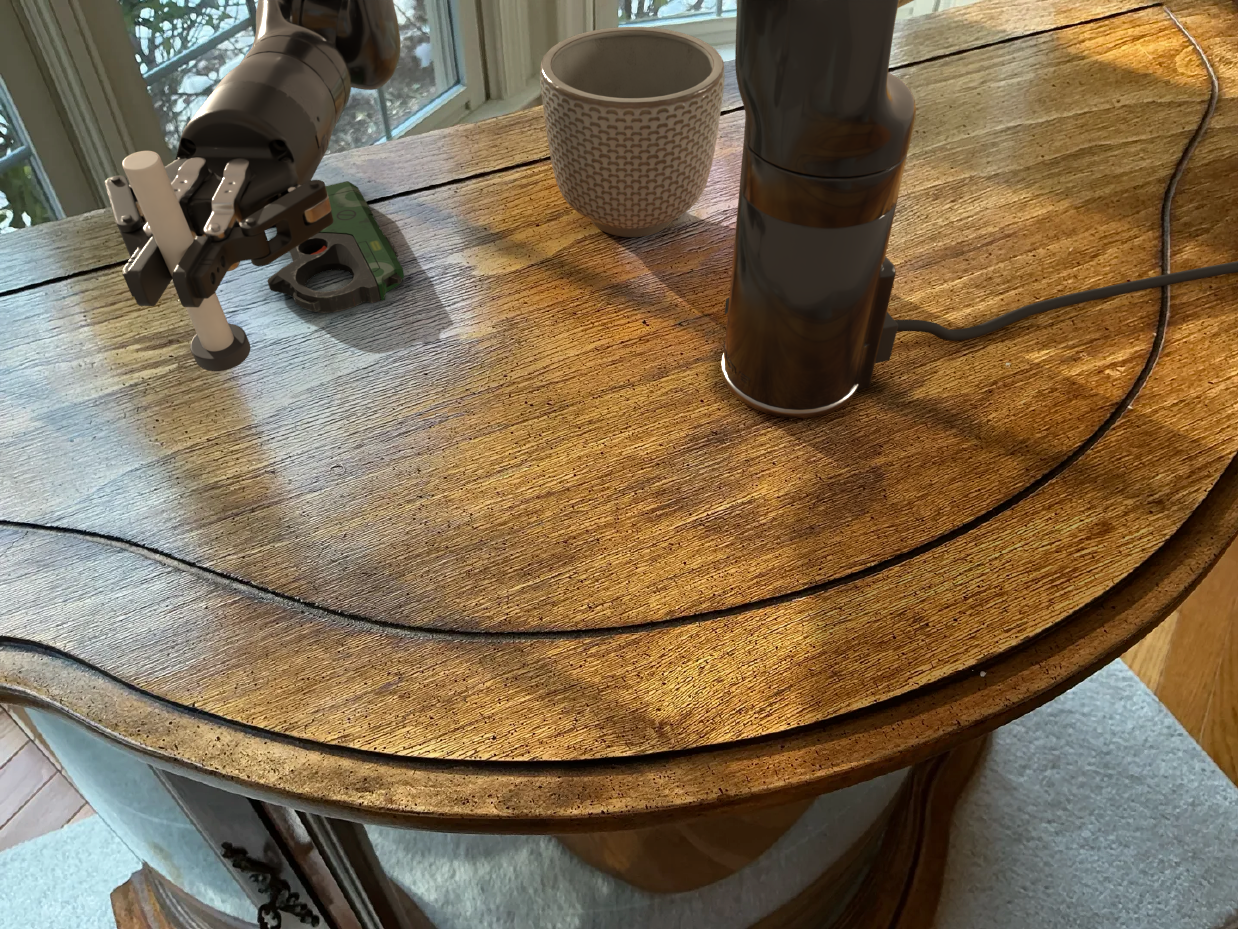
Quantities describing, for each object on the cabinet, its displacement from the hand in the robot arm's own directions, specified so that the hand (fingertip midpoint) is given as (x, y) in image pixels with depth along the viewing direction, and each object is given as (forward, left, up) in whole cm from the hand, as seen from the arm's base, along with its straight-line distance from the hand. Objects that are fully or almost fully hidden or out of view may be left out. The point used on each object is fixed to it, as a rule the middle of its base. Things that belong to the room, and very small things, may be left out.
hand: (162, 292), depth 51 cm
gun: (-8, -24, -14) cm, 29 cm away
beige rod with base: (-1, -3, -7) cm, 8 cm away
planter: (-33, -22, -14) cm, 42 cm away
